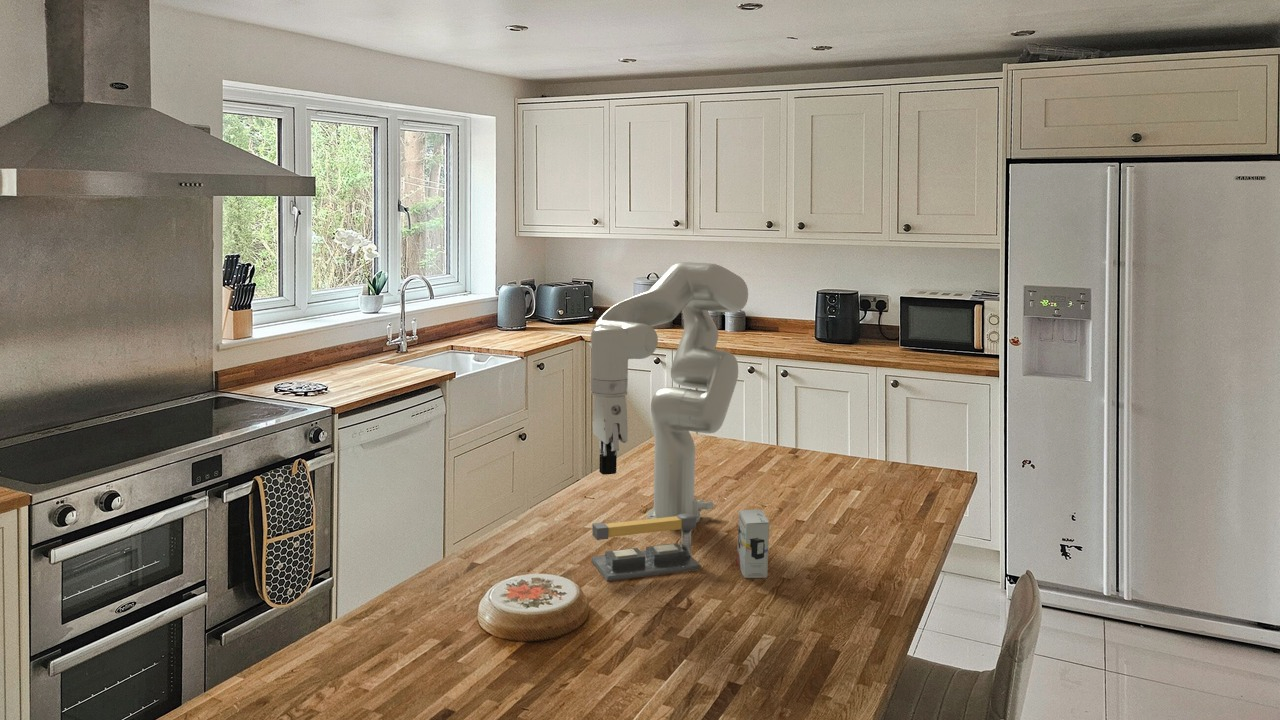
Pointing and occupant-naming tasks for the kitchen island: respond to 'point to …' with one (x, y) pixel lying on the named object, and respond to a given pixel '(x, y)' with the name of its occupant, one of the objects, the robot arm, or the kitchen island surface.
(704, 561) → the kitchen island surface
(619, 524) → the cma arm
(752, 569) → the ink box
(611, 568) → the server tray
